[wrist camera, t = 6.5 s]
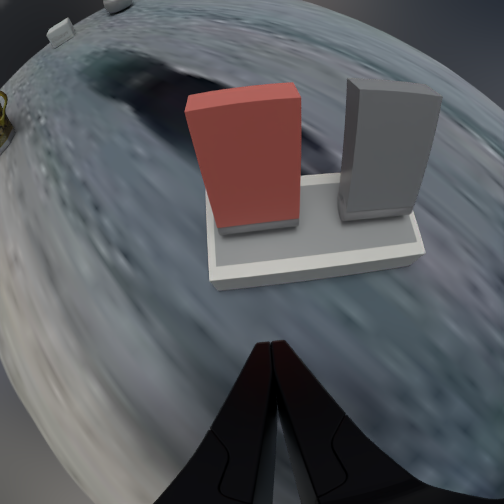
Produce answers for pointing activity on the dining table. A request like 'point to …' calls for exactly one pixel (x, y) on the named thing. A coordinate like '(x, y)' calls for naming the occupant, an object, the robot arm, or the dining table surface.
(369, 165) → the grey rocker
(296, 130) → the upright red slab
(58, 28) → the small box
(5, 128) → the ceramic cup
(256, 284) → the shallow grey tray
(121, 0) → the plastic bottle
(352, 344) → the dining table surface
